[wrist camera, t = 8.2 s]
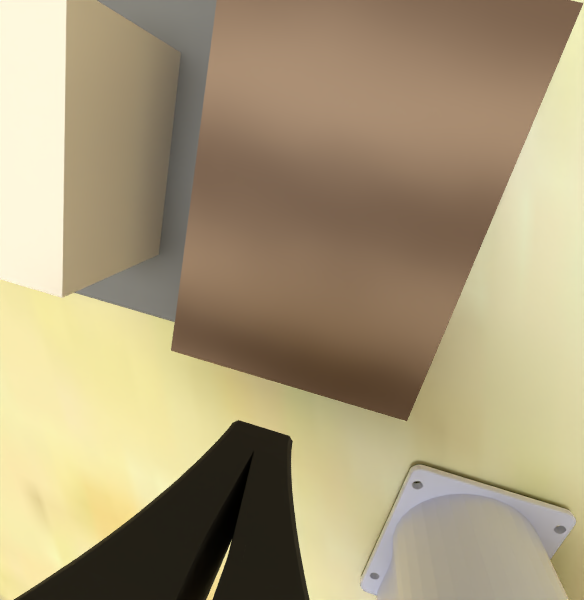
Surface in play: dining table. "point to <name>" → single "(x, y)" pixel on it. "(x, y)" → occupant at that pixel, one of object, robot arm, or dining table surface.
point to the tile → (80, 142)
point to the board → (353, 182)
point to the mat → (185, 134)
